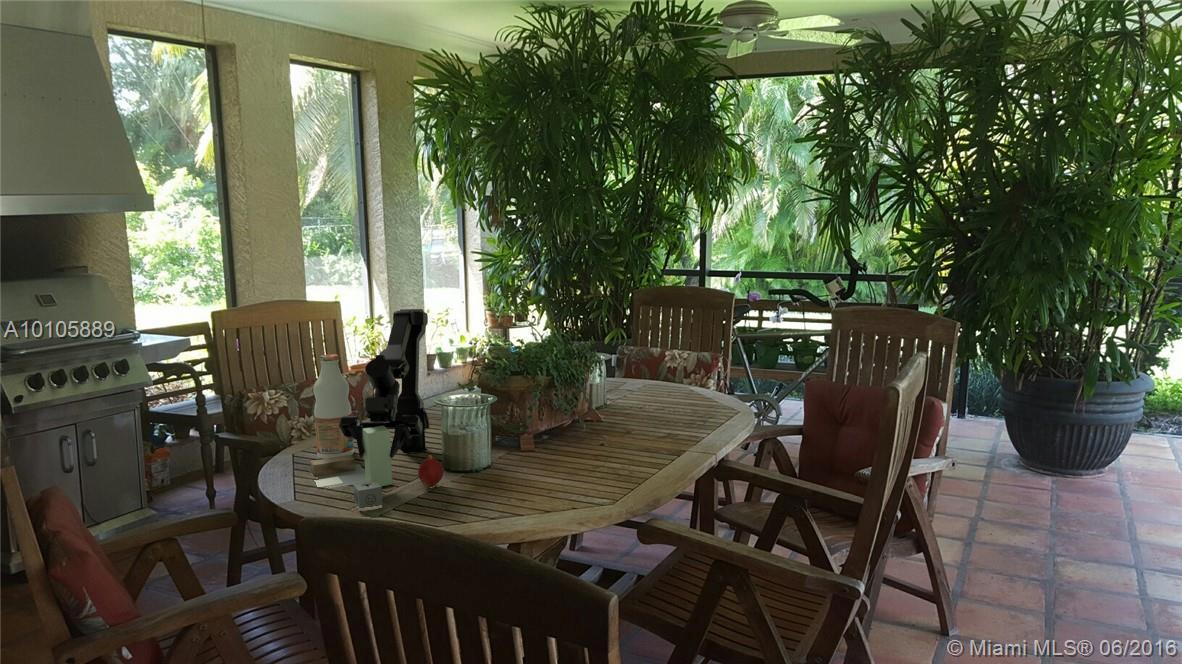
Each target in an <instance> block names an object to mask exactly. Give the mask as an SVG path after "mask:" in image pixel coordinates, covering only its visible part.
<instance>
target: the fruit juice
mask: <svg viewBox="0 0 1182 664" xmlns="http://www.w3.org/2000/svg"><path fill="white" fill-rule="evenodd" d="M339 361H340V356H339V354H335V353H334V354H333V353H330V354H322V355H320V356H319V363H320V364H321V365H320V366H321V367H320V372H319V375H318V378H317V379H316V381H315V383H314V384H313V391H312V392H313V394H314V395H313V396H314V397H315V404H314V407H313V408H314V410H313V411H314V413H313V415H314V424H315V441H316V454H317V455H316V456H317V458H319V459H328V458H334V457H341V456H347V455H352V456H353V455H354V453H355V452H354V447H355V446H354V439H353V437H346V436H344V434H343V432H342V430H341V428H340V427H339V422H340V419H341V418H342V417H343V416H352V407H351V406H352V405H351V402H350V400H349V392H350V385H349V382H348V380H347V379H346V378H345V376H344V375H343V374H342V373H341V369H340V367H339Z"/></svg>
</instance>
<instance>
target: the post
mask: <svg viewBox="0 0 1182 664" xmlns="http://www.w3.org/2000/svg"><path fill="white" fill-rule="evenodd" d="M363 444H364V455H363V458H364V470H365V475H366V482H371V481H376V482H377V483H378V484H379V485H380V486H381V487H383V486H385V487H386V486H391V485H393V483H394V482H393V468H392V458H391V457H390V451H391V433H390V429H387V428H386V427H385V426H378V427H371V428H364V429H363Z"/></svg>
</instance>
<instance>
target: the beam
mask: <svg viewBox="0 0 1182 664" xmlns="http://www.w3.org/2000/svg"><path fill="white" fill-rule="evenodd" d="M309 464H310V472H311V473H312V474H313V476H314V477H318V476H324V475H330V474H336V473H342V472H348V471H354V470H355V465H356V459H355V457H354V456H353V454H352V455H347V456H341V457H334V458H328V459H322V458H320V459H315V460H310V463H309Z"/></svg>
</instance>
